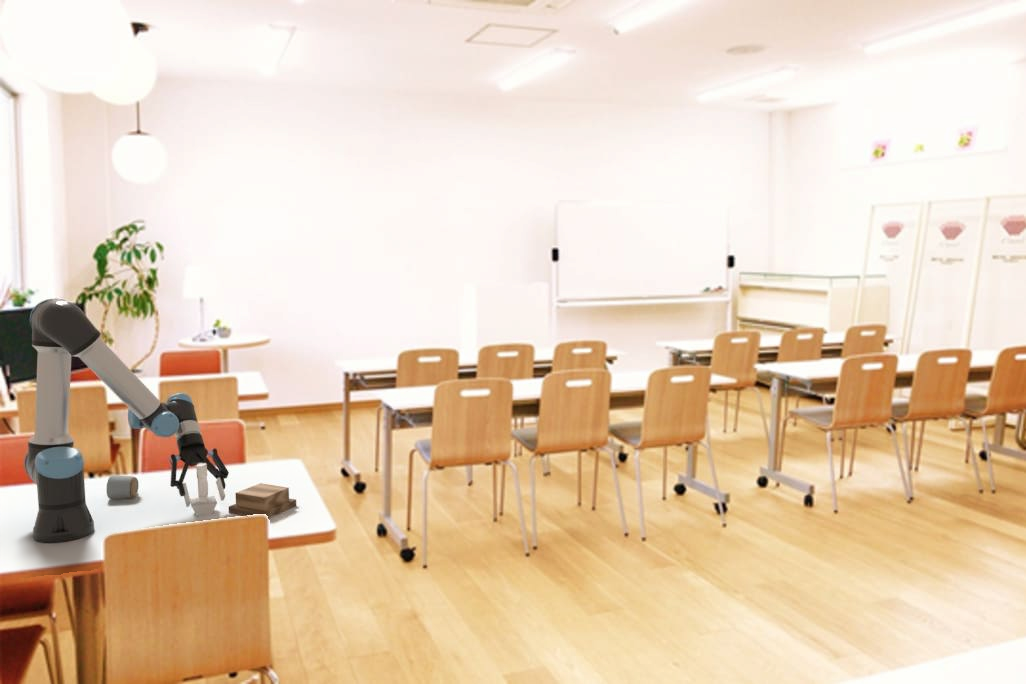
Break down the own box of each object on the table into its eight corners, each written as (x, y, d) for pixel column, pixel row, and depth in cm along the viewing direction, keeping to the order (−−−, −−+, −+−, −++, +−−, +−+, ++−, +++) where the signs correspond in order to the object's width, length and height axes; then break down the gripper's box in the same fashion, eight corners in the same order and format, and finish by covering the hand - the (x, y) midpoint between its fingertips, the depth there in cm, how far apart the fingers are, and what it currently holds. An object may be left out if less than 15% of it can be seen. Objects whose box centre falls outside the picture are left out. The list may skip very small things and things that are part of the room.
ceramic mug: (132, 501, 268) (131, 478, 268) (106, 501, 268) (105, 478, 267) (143, 491, 278) (142, 469, 278) (118, 492, 278) (117, 470, 277)
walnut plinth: (265, 519, 251) (264, 499, 251) (228, 513, 257) (228, 493, 256) (296, 505, 264) (295, 487, 263) (260, 499, 270) (260, 481, 269)
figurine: (192, 519, 252) (189, 469, 250) (189, 509, 260) (187, 461, 258) (218, 515, 255) (216, 466, 253) (214, 506, 263) (212, 459, 261)
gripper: (222, 440, 274) (240, 501, 263) (149, 450, 261) (165, 514, 250) (227, 427, 269) (245, 488, 258) (153, 436, 256) (169, 501, 246)
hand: (206, 501), depth 254 cm, fingers open, 9 cm apart
